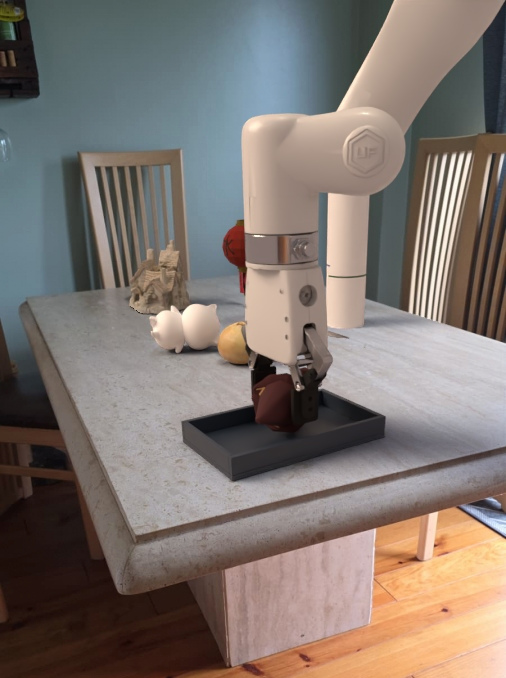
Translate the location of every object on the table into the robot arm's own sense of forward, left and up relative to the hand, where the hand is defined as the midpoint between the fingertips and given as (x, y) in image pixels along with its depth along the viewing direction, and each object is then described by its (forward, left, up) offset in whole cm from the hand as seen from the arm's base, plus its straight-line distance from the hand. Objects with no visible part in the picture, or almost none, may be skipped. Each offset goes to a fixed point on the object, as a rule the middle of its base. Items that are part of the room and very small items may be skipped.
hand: (283, 410), depth 71 cm
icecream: (0, 0, -3) cm, 3 cm away
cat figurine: (+44, -8, -4) cm, 45 cm away
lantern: (+55, -27, -4) cm, 61 cm away
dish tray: (0, 0, -4) cm, 4 cm away
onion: (+31, -12, -4) cm, 33 cm away
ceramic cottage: (+83, -18, -4) cm, 85 cm away
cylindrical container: (+36, -37, -4) cm, 52 cm away
